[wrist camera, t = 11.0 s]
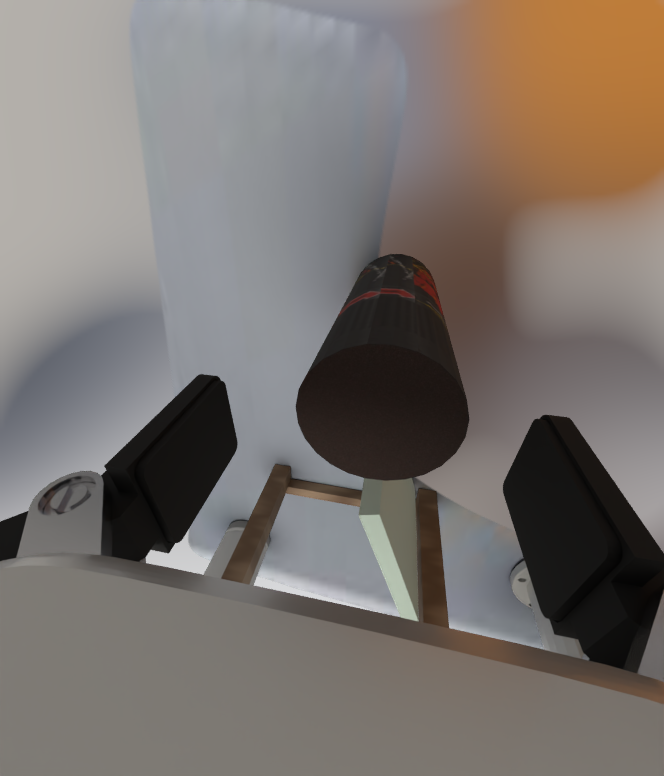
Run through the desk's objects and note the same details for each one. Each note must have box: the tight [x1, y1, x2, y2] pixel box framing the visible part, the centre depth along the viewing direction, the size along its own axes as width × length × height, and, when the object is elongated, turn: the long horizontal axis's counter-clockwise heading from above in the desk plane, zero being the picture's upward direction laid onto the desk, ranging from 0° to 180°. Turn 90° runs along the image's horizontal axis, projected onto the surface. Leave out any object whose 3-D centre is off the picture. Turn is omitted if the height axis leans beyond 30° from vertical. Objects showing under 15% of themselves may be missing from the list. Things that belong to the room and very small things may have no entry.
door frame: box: [221, 464, 449, 628], centre depth 30 cm, size 18×3×13 cm, turn 89°
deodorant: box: [296, 254, 469, 481], centre depth 17 cm, size 6×6×15 cm
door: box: [359, 478, 418, 621], centre depth 26 cm, size 14×2×12 cm, turn 18°
